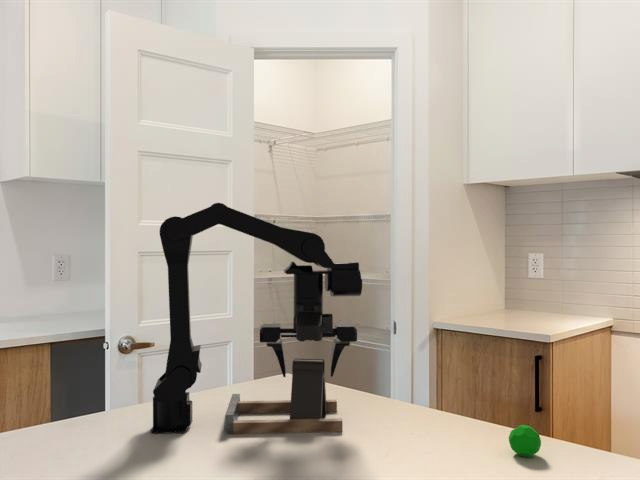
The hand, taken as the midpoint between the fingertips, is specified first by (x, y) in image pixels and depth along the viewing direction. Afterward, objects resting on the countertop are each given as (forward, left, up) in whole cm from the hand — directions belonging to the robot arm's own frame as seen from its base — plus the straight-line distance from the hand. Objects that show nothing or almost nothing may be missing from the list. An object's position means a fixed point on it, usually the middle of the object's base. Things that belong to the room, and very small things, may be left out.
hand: (308, 376), depth 114 cm
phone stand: (0, 0, -9) cm, 9 cm away
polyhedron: (+35, -20, -9) cm, 41 cm away
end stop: (-15, 0, -9) cm, 17 cm away
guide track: (-4, 0, -9) cm, 10 cm away
